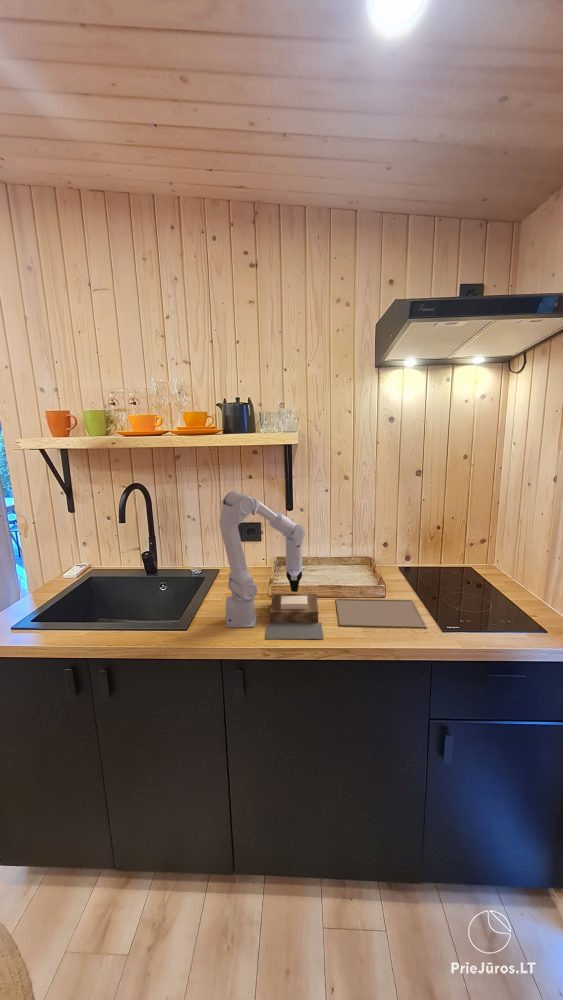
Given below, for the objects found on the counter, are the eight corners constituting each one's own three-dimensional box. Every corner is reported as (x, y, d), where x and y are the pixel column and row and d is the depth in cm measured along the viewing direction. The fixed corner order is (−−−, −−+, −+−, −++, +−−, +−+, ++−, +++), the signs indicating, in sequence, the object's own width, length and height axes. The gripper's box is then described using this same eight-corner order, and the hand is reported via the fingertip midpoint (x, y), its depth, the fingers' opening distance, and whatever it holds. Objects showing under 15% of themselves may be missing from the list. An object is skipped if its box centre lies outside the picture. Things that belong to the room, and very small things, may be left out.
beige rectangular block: (280, 609, 136) (280, 603, 135) (281, 601, 142) (281, 595, 141) (307, 609, 136) (307, 603, 135) (307, 601, 141) (307, 595, 141)
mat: (265, 639, 125) (265, 638, 125) (267, 623, 135) (267, 622, 135) (323, 639, 124) (323, 638, 124) (321, 623, 134) (321, 622, 134)
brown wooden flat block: (270, 623, 135) (270, 612, 134) (272, 603, 149) (272, 593, 148) (318, 623, 134) (318, 612, 133) (316, 603, 148) (316, 593, 147)
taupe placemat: (339, 627, 132) (426, 629, 130) (339, 624, 132) (426, 626, 130) (335, 601, 151) (412, 602, 149) (335, 598, 151) (412, 599, 148)
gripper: (305, 563, 137) (305, 599, 140) (304, 549, 151) (305, 582, 154) (284, 563, 137) (285, 600, 140) (285, 549, 152) (286, 582, 154)
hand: (294, 591), depth 147 cm, fingers closed
